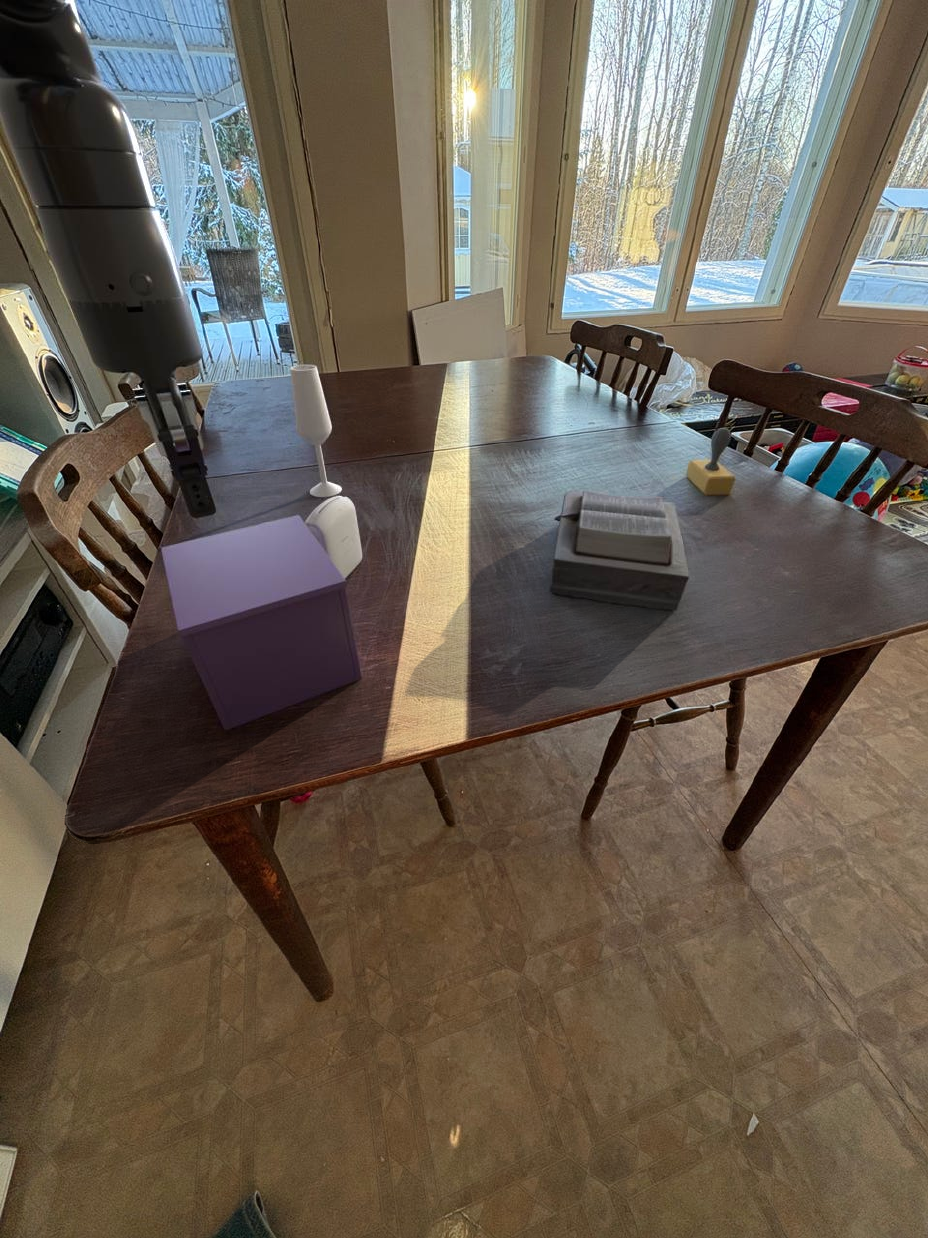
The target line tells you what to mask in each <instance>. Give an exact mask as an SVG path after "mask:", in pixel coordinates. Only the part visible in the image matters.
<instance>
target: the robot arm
mask: <svg viewBox="0 0 928 1238" xmlns="http://www.w3.org/2000/svg"><path fill="white" fill-rule="evenodd" d="M83 27H84V26H83V24H82V21H81V18H80V14H79V11H78V8H77V5H76V1H75V0H0V121H1V124H2V127H3V130H4V133H5V136H6V139H7V141H8V144H9V146H10V149H11V150H12V154H13V157H14V159H15V162H16V164H17V167H18V169H19V172H20V174H21V177H22V179H23V182H24V185H25V186H26V189H27V192H28V194H29V196H30V199H31V201H32V204H33V206H34V207H36V209H35V212H36V214H37V217H38V219H39V223H40V227H41V230H42V234H43V238H44V241H45V245H46V249H47V252H48V254H49V257H50V260H51V262H52V264H53V267H54V270H55V272H56V274H57V277H58V279H59V280H58V281H59V282H60V285H61V287H62V289H63V292H64V295H65V297H66V299H67V302H68V304H69V306H70V307H69V308H70V309H71V312H72V314H73V317H74V319H75V321H76V324H77V326H78V329H79V332H80V334H81V336H82V338H83V341H84V344H85V346H86V349H87V351H88V353H89V356H90V358H91V361H92V363H93V364H94V366H96V367H97V368H98V369H100V370H102V371H105V372H109V373H113V374H114V373H115V374H127V373H132V374H135V375H136V376H137V377H138V378H139V380H140V381H141V383H142V387H141V388H133V389H132V392H133V395H134V399H135V402H136V406H137V408H138V410H139V413H140V416H141V418H142V420H143V421H144V422H145V423H147V425H148V427H149V429H150V432H151V436H152V438H153V440H154V443H155V446H156V449H157V452H158V454H159V455H161V456H162V457H165V458H167V459H168V462H169V463H168V467H169V469H170V473H171V477H172V478H175V481H176V482H178V485H179V488H180V490H181V494H182V496H183V499H184V502H185V504H186V505H185V506H186V507H187V510H188V513H189V515H190V517H191V518H194V519H200V518H206V517H209V516H213V515H215V514H216V512H217V508H216V505H215V501H214V499H213V496H212V492H211V488H210V486H209V483H208V480H207V477H206V476H208V471H209V468H208V466H207V464H206V463H205V460H204V456H203V452H202V451H203V450H204V448H205V444H204V441H203V438H202V435H201V431H200V428H199V424H198V421H197V418H196V417H197V414H198V410H197V406H196V403H195V400H194V398H193V393H192V392H191V390H189V388H188V384H187V383H186V382H184V383H183V382H182V383H178V382H177V379H176V376H175V372H176V370H177V369H178V368H186V367H190V366H193V365H195V364H197V363H198V362H200V361H201V359H202V358H203V356H204V351H203V347H202V344H201V340H200V336H199V334H198V333H199V332H198V330H197V326H196V323H195V319H194V316H193V312H192V307H191V305H190V302H189V299H188V295H187V291H186V287H185V284H184V280H183V278H182V273H181V270H180V267H179V262H178V259H177V256H176V253H175V249H174V247H173V243H172V241H171V238H170V236H169V234H168V232H167V229H166V226H165V224H164V222H163V219H162V216H161V213H160V210H159V209H157V208H158V204H157V199H156V196H155V193H154V190H153V189H154V188H153V186H152V183H151V180H150V175H149V172H148V169H147V165H146V161H145V159H144V155H143V150H142V148H141V144H140V141H139V138H138V135H137V132H136V129H135V126H134V123H133V120H132V118H131V116H130V113H129V112H128V110H127V108H126V106H125V105H124V103H123V102H122V101H121V99H120V98H119V96H117V94H115V93H114V92H113V90H111V89H110V88H108V87H107V86H105V84H104V81H103V79H102V76H101V74H100V72H99V68H98V65H97V63H96V60H95V57H94V55H93V53H92V49H91V46H90V45H89V41H88V39H87V36H86V32H85V30H84V28H83Z"/></svg>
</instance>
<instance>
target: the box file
mask: <svg viewBox="0 0 928 1238" xmlns="http://www.w3.org/2000/svg"><path fill="white" fill-rule="evenodd" d="M349 605H350V604H349V599H348V594H347V587H344V588H341V589H338V590H334V591H331V592H328V593H325V594H321V595H318V596H315V597H311V598H308V599H305V600H301V601H298V602H295V603H292V604H288V605H285V606H282V607H278V608H275V609H272V610H268V611H265V612H262V613H259V614H255V615H252V616H249V617H245V618H242V619H239V620H235V621H232V622H229V623H226V624H222V625H219V626H216V627H212V628H209V629H206V630H202V631H199V632H196V633H193V634H189V635H186V636H183V637H181V639H182V640H183V642H184V645H185V647H186V649H187V651H188V653H189V655H190V658H191V659H192V662H193V665H194V666H195V669H196V671H197V673H198V676H199V677H200V679H201V682H202V684H203V686H204V688H205V690H206V693H207V695H208V697H209V699H210V702H211V704H212V706H213V708H214V709H215V712H216V714H217V716H218V718H219V721H220V723H221V725H222V727H223V729H224V731H229V730H231V729H234V728H236V727H238V726H241V725H245V724H246V723H247V724H248V723H250V722H252V721H255V720H257V719H260V718H262V717H266V716H268V715H271V714H273V713H275V712H278V711H281V710H283V709H286V708H288V707H292V706H295V705H296V704H299V703H301V702H305V701H307V700H311V699H312V698H315V697H317V696H320V695H323V694H325V693H328V692H331V691H333V690H336V689H338V688H342V687H344V686H346V685H349V684H353V683H354V682H357V681H359V680H362V679H363V677H362V671H361V665H360V660H359V655H358V649H357V644H356V638H355V633H354V627H353V620H352V616H351V610H350V606H349Z"/></svg>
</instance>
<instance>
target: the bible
mask: <svg viewBox="0 0 928 1238" xmlns="http://www.w3.org/2000/svg"><path fill="white" fill-rule="evenodd" d="M553 519H554V521H557V522H558V527H557V532H556V539H555V545H554V551H553V564H552V570H551V584H550V586H549V590H550V591H549V592H552V593H555V594H557V595H559V596H563V597H566V596H570V597H572V598H577V599H588V600H593V601H597V602H603V603H610V604H617V605H625V606H635V607H643V608H648V609H651V610H652V609H655V610H668V611H671V610H672V611H677V610H679V609H678V608H679V605H680V601H681V598H682V597H683V594H684V591H685V588H686V585H687V583H688V580H689V579H690V572H689V569H688V564H687V559H686V553H685V547H684V542H683V537H682V533H681V530H680V529H681V528H680V525H679V520H678V513H677V508H676V503H675V502H671V501H665V499H664V497H663V496H645V497H644V496H622V495H615V494H608V493H601V492H595V491H592V490H586V489H585V490H583V491H582V492H576V491H566V492H565V494H564V495H563V502H562V506H561V513H560V514H559V515H557V516H555V517H554V518H553Z"/></svg>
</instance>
